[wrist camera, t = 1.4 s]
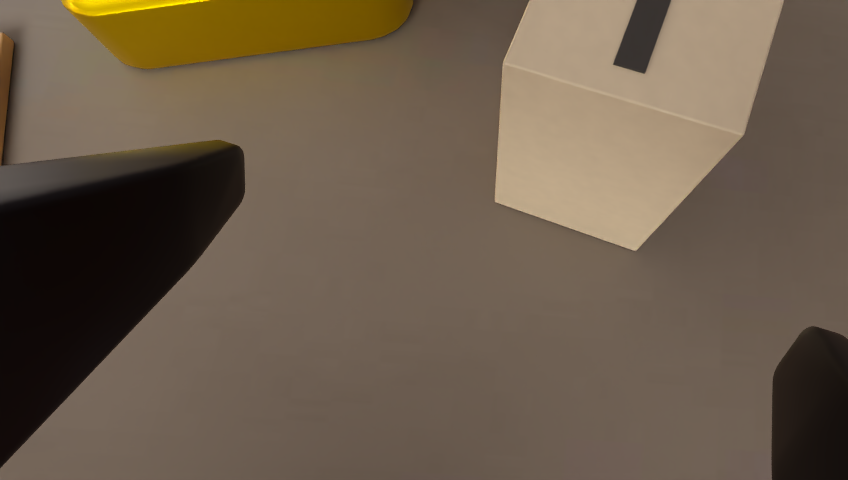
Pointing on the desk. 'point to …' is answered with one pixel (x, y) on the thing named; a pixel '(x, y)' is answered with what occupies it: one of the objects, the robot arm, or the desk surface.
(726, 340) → the desk surface
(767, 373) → the desk surface
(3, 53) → the cork mat
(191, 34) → the element tile
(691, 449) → the desk surface
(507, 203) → the toaster
